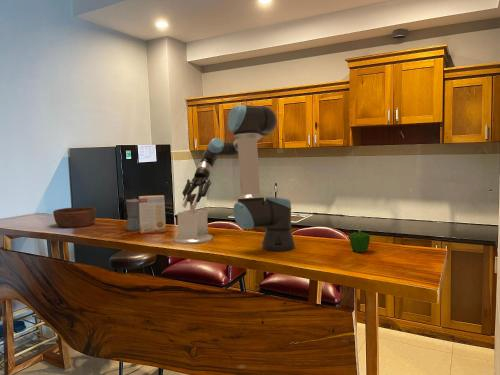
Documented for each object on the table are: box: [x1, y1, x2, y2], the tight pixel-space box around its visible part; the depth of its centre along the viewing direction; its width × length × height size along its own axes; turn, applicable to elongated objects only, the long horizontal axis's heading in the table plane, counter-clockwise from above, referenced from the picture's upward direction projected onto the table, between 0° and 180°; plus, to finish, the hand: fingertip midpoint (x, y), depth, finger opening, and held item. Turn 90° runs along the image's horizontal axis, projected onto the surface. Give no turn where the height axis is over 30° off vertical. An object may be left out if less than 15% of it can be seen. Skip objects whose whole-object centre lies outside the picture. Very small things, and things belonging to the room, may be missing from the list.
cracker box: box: [138, 194, 167, 235], centre depth 208 cm, size 14×6×21 cm, turn 105°
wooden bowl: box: [52, 206, 97, 229], centre depth 235 cm, size 25×25×10 cm
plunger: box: [187, 193, 198, 212], centre depth 188 cm, size 8×8×22 cm
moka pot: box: [120, 195, 140, 232], centre depth 217 cm, size 10×15×20 cm, turn 78°
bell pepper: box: [349, 229, 371, 253], centre depth 160 cm, size 8×8×10 cm
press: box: [172, 209, 214, 245], centre depth 188 cm, size 20×20×14 cm
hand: (188, 206), depth 184 cm, fingers closed on plunger, 5 cm apart
